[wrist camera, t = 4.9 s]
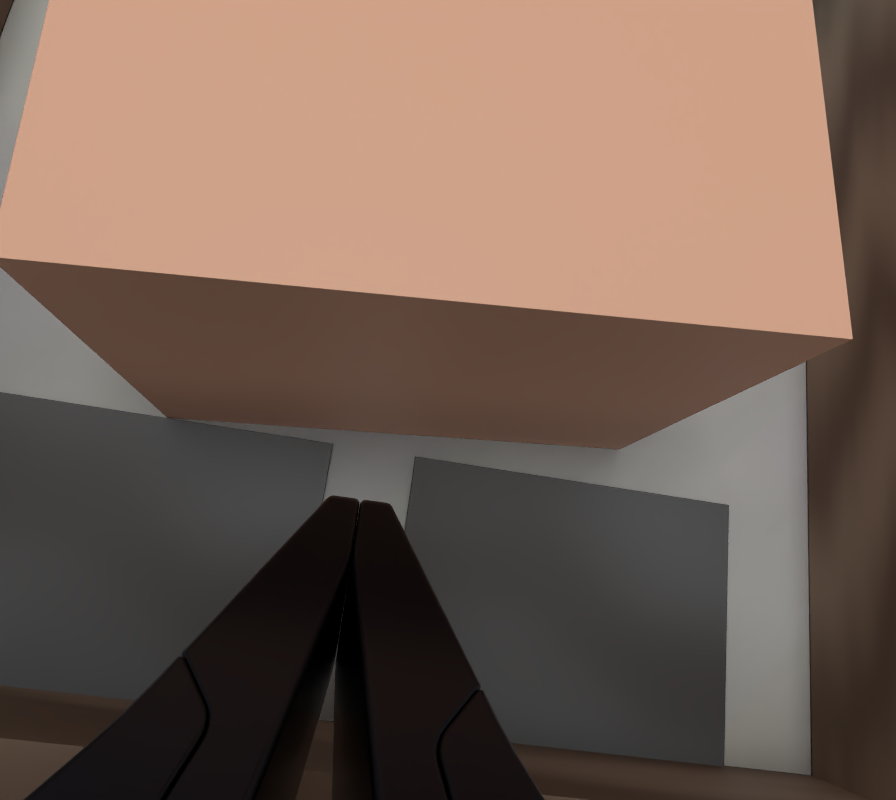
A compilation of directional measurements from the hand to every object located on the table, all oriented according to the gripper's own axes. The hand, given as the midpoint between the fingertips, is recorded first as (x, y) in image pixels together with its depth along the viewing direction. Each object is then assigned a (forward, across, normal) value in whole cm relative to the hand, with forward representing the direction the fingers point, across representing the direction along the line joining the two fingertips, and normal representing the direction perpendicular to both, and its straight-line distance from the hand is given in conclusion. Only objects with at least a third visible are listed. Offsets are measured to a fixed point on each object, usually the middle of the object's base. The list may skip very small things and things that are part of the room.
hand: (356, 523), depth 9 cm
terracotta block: (+12, 0, -2) cm, 12 cm away
